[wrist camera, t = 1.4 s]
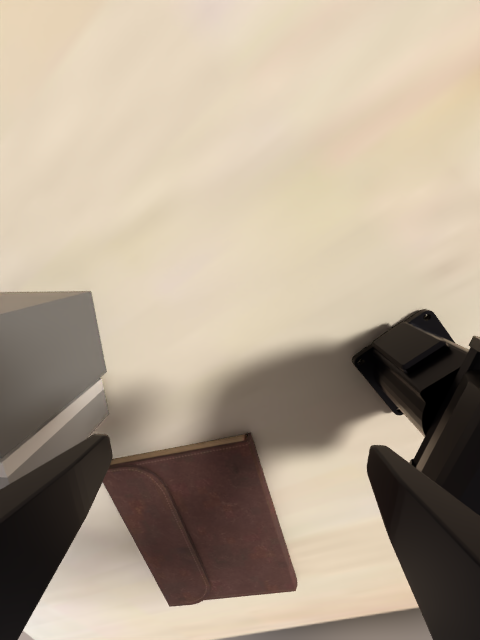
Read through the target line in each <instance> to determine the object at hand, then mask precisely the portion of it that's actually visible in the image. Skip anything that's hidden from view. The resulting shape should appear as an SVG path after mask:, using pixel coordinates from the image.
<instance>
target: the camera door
mask: <svg viewBox="0 0 480 640" xmlns="http://www.w3.org/2000/svg"><path fill="white" fill-rule="evenodd" d="M108 414H109V412H108V407H107V402H106V397H105V392H104V387H103V382H102V378H99V379H97V380H96V381H95V382H94V383H93V384H91V385H90V386H89V387H88V388H87V389H85V390H84V391H83V392H82V393H80V394H79V395H78V396H77V397H76V398H74V399H73V400H72V401H71V402H70V403H68V404H67V405H66V406H65V407H63V408H62V409H61V410H60V411H59V412H57V413H56V414H55V415H54V416H52V417H51V418H50V419H49V420H48V421H46V422H45V423H44V424H43V425H42V426H40V427H39V428H38V429H37V430H35V431H34V432H33V433H32V434H31V435H29V436H28V437H27V438H26V439H25V440H23V441H22V442H21V443H20V444H18V445H17V446H16V447H15V448H14V449H12V450H11V451H10V452H9V453H8V454H6V455H5V456H4V457H3V458H0V489H2V488H4V487H5V486H7V485H9V484H10V483H12V482H14V481H16V480H17V479H19V478H21V477H22V476H24V475H26V474H27V473H29V472H31V471H33V470H34V469H36V468H38V467H39V466H41V465H43V464H44V463H46V462H48V461H50V460H51V459H53V458H55V457H56V456H58V455H60V454H61V453H63V452H65V451H67V450H68V449H70V448H72V447H73V446H75V445H77V444H78V443H80V442H82V441H84V440H85V439H87V438H88V436H89V435H90V434H91V433H92V432H93V431H94V430H95V429H96V427H97V426H98V425H99V424H100V423H101V422H102V421H103V420H104V419H105V417H106V416H107V415H108Z"/></svg>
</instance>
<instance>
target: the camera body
mask: <svg viewBox="0 0 480 640" xmlns="http://www.w3.org/2000/svg"><path fill="white" fill-rule="evenodd" d="M105 373H106V366H105V361H104V356H103V351H102V346H101V341H100V335H99V330H98V325H97V320H96V315H95V309H94V304H93V299H92V294H91V291H71V292H0V458H3V457H4V456H5V455H6V454H8V453H9V452H10V451H11V450H12V449H14V448H15V447H16V446H17V445H18V444H20V443H21V442H22V441H23V440H25V439H26V438H27V437H28V436H29V435H31V434H32V433H33V432H34V431H35V430H37V429H38V428H39V427H40V426H42V425H43V424H44V423H45V422H46V421H48V420H49V419H50V418H51V417H52V416H54V415H55V414H56V413H57V412H59V411H60V410H61V409H62V408H63V407H65V406H66V405H67V404H68V403H70V402H71V401H72V400H73V399H74V398H76V397H77V396H78V395H79V394H80V393H82V392H83V391H84V390H85V389H87V388H88V387H89V386H90V385H91V384H93V383H94V382H95V381H96V380H97V379H99V378H100V377H101V376H102V375H104V374H105Z"/></svg>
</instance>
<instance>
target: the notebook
mask: <svg viewBox="0 0 480 640" xmlns="http://www.w3.org/2000/svg"><path fill="white" fill-rule="evenodd" d="M103 483H104V485H105V487H106V489H107V491H108V493H109V494H110V496H111V498H112V500H113V502H114V504H115V506H116V507H117V509H118V511H119V513H120V515H121V517H122V519H123V520H124V522H125V524H126V526H127V528H128V530H129V532H130V534H131V535H132V537H133V539H134V541H135V543H136V545H137V547H138V548H139V550H140V552H141V554H142V556H143V558H144V560H145V561H146V563H147V565H148V567H149V569H150V571H151V573H152V574H153V576H154V578H155V580H156V582H157V584H158V586H159V588H160V589H161V591H162V593H163V595H164V597H165V599H166V601H167V602H168V604H169V606H182V605H192V604H197V603H199V602H201V601H203V600H210V599H220V598H231V597H241V596H251V595H261V594H271V593H281V592H291V591H296V588H297V578H296V575H295V572H294V568H293V565H292V562H291V559H290V556H289V553H288V549H287V546H286V543H285V540H284V537H283V534H282V530H281V527H280V524H279V521H278V518H277V515H276V511H275V508H274V505H273V502H272V499H271V496H270V492H269V489H268V486H267V483H266V480H265V477H264V473H263V470H262V467H261V464H260V461H259V458H258V454H257V451H256V448H255V445H254V442H253V439H252V435H251V433H248V437H247V435H246V434H245V435H239V436H234V437H229V438H223V439H218V440H212V441H207V442H202V443H196V444H191V445H186V446H180V447H175V448H170V449H164V450H159V451H154V452H148V453H143V454H138V455H132V456H127V457H121V458H116V459H112V461H111V464H110V466H109V469H108V471H107V473H106V475H105V477H104V479H103Z"/></svg>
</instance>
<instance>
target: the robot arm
mask: <svg viewBox="0 0 480 640" xmlns="http://www.w3.org/2000/svg"><path fill="white" fill-rule="evenodd" d="M426 314H427V317H426V318H425V319H424V316H425V315H426ZM469 346H470V349H469V350H468V349H466V348H464V347H462V346H460V345H458V344H456V343H455V342H454V341H453V339H452V338H451V336H450V335H449V334H448V332H447V331H446V329H445V328H444V327H443V325H442V324H441V322H440V321H439V320H438V318H437V317H436V315H435V314H434V313H433V312H432V311H430V310H427V309H423V310H421V311H419V312H417V313H416V314H415V315H413V316H412V317H410V318H409V319H407V320H406V321H404V322H401V323H399V324H398V325H396V326H395V327H393V328H392V329H390V330H389V331H388V332H386V333H385V334H383V335H382V336H380V337H379V338H377V339H376V340H374V341H373V343H372V344H371V345H369V346H368V347H366V348H365V349H363V350H362V351H361V352H359V353H358V354H356V355H355V356H354V357H353V359H352V362H353V364H354V365H355V366H356V367H357V369H358V370H359V371H360V372H361V373H362V375H363V376H364V377H365V378H366V379H367V381H368V382H369V383H370V384H371V386H372V387H373V388H374V389H375V390H376V392H377V393H378V394H379V395H380V396H381V398H382V399H383V400H384V401H385V403H386V404H387V405H388V406H389V407H390V409H391V410H392V411H393V412H394V413H395V414H396V415H403V414H404V415H405V416H406V417H407V418H408V419H409V420H410V421H411V422H412V423H413V425H414V426H415V427H416V428H417V429H418V430H419V431H420V432H421V433H422V435H423V436H424V437H425V438H424V440H423V442H422V444H421V446H420V448H419V450H418V452H417V454H416V456H415V458H414V459H411V461H410V463H409V462H407V461H406V460H404V459H403V458H402V457H400V456H399V455H398V454H396V453H395V452H394V451H392V450H391V449H390V448H388V447H387V446H383V445H372V446H371V447H370V450H369V456H368V462H367V473H368V477H369V480H370V483H371V486H372V489H373V492H374V495H375V498H376V501H377V504H378V507H379V510H380V513H381V516H382V519H383V522H384V525H385V528H386V531H387V533H388V536H389V539H390V541H391V543H392V546H393V548H394V550H395V553H396V555H397V557H398V560H399V562H400V564H401V567H402V569H403V571H404V574H405V576H406V578H407V581H408V583H409V585H410V587H411V590H412V592H413V594H414V597H415V599H416V601H417V604H418V606H419V608H420V610H421V612H422V615H423V617H424V620H425V622H426V624H427V627H428V629H429V631H430V634H431V636H432V638H433V640H480V337H478V336H473V338H472V340H471V342H470V344H469ZM359 359H362V361H361V362H360V363H357V362H358V360H359ZM398 408H399V409H398ZM397 409H398V410H397ZM111 461H112V450H111V445H110V439H109V437H108V435H106V434H94V435H92V436H90V437H89V438H87V439H85V440H84V441H82V442H80V443H78V444H77V445H75V446H73V447H72V448H70V449H68V450H67V451H65V452H63V453H61V454H60V455H58V456H56V457H55V458H53V459H51V460H50V461H48V462H46V463H44V464H43V465H41V466H39V467H38V468H36V469H34V470H33V471H31V472H29V473H27V474H26V475H24V476H22V477H21V478H19V479H17V480H16V481H14V482H12V483H10V484H9V485H7V486H5V487H4V488H2V489H0V640H18V638H19V636H20V634H21V633H22V631H23V629H24V627H25V626H26V624H27V622H28V620H29V618H30V617H31V615H32V613H33V611H34V610H35V608H36V606H37V604H38V602H39V601H40V599H41V597H42V595H43V593H44V592H45V590H46V588H47V586H48V584H49V583H50V581H51V579H52V577H53V576H54V574H55V572H56V570H57V568H58V567H59V565H60V563H61V561H62V559H63V558H64V556H65V554H66V552H67V551H68V549H69V547H70V545H71V543H72V542H73V540H74V538H75V536H76V534H77V533H78V531H79V529H80V527H81V525H82V524H83V522H84V520H85V518H86V516H87V514H88V512H89V510H90V508H91V506H92V504H93V501H94V499H95V497H96V495H97V493H98V490H99V488H100V486H101V484H102V482H103V479H104V477H105V475H106V473H107V471H108V469H109V466H110V464H111Z"/></svg>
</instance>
